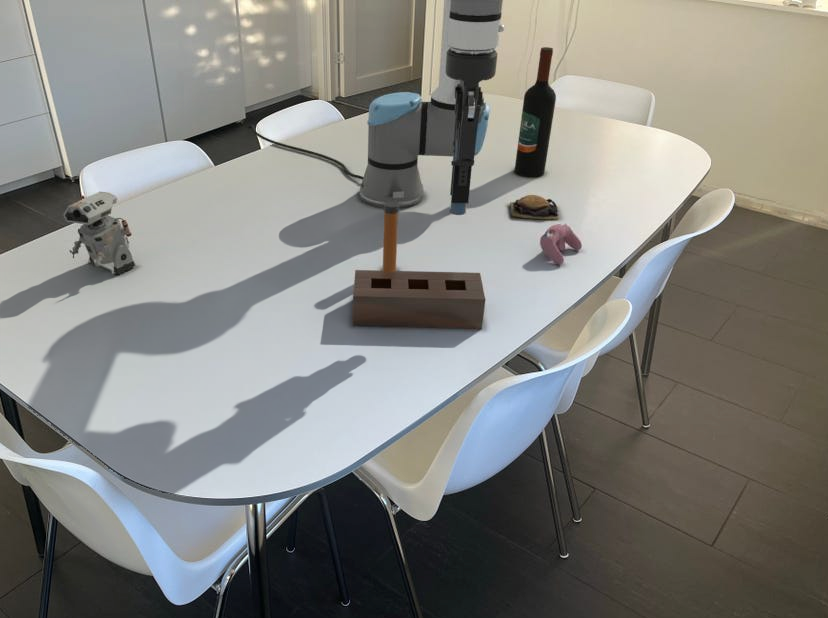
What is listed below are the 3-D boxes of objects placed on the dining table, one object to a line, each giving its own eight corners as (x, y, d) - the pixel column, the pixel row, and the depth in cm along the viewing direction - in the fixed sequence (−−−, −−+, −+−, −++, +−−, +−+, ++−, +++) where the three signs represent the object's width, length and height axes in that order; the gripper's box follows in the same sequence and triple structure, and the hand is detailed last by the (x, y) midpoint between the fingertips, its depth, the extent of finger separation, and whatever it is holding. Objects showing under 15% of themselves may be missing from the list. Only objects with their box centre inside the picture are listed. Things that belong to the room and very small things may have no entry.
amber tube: (379, 270, 145) (380, 204, 137) (388, 265, 146) (390, 199, 138) (390, 275, 143) (392, 208, 135) (399, 270, 145) (402, 203, 137)
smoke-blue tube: (446, 212, 124) (452, 129, 116) (456, 207, 125) (463, 125, 117) (459, 216, 122) (467, 133, 114) (469, 211, 124) (477, 129, 116)
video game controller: (564, 251, 155) (555, 220, 153) (584, 248, 152) (575, 216, 150) (542, 268, 149) (533, 236, 147) (562, 265, 145) (553, 232, 143)
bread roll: (511, 219, 165) (513, 203, 163) (509, 203, 172) (511, 189, 170) (559, 221, 164) (562, 205, 162) (555, 205, 171) (558, 190, 169)
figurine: (65, 273, 144) (47, 202, 135) (113, 252, 151) (99, 183, 143) (94, 287, 139) (77, 214, 131) (142, 265, 147) (129, 194, 138)
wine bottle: (546, 177, 185) (566, 52, 168) (516, 177, 185) (533, 52, 168) (541, 167, 191) (559, 45, 174) (512, 166, 191) (527, 44, 174)
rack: (355, 298, 136) (355, 269, 132) (476, 301, 135) (480, 272, 132) (352, 325, 128) (352, 296, 125) (481, 329, 127) (485, 299, 124)
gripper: (504, 61, 102) (486, 218, 116) (492, 38, 115) (477, 181, 128) (450, 60, 102) (438, 217, 116) (444, 37, 115) (434, 180, 129)
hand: (459, 198), depth 122 cm, fingers closed on smoke-blue tube, 2 cm apart
